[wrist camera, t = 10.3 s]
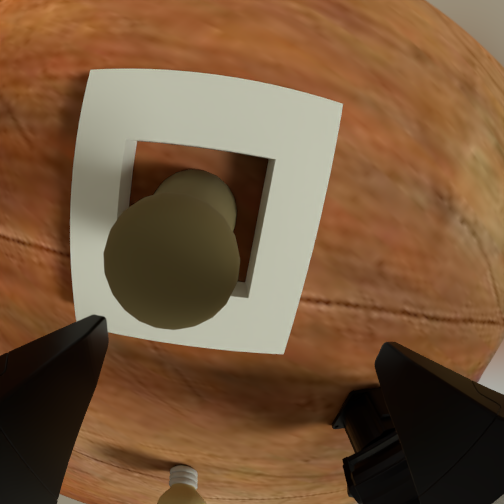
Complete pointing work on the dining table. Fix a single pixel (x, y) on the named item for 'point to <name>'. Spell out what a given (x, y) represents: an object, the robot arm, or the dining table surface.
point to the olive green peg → (175, 252)
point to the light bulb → (182, 487)
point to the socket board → (217, 138)
